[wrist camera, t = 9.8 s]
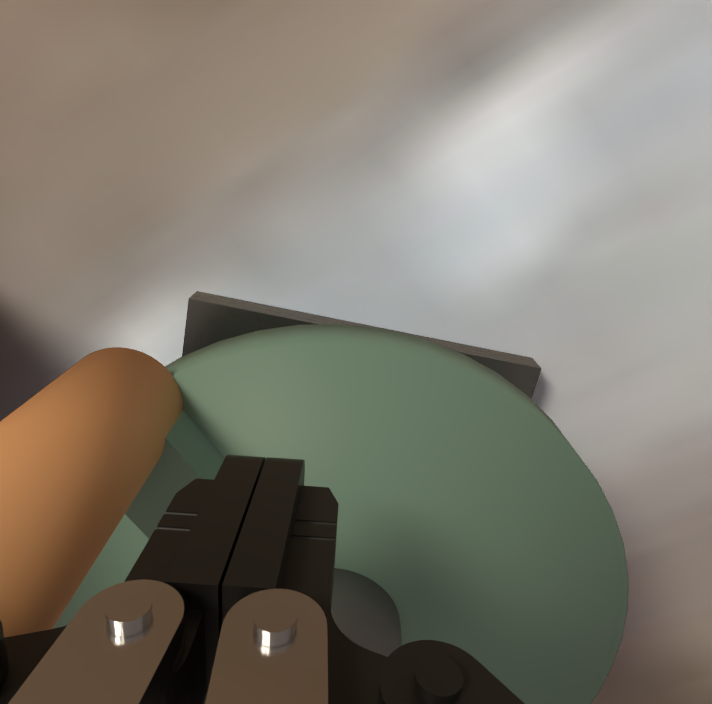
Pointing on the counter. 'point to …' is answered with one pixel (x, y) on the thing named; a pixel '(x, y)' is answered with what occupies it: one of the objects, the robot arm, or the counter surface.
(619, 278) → the counter surface
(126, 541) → the handwheel
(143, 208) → the counter surface
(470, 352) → the pedestal
